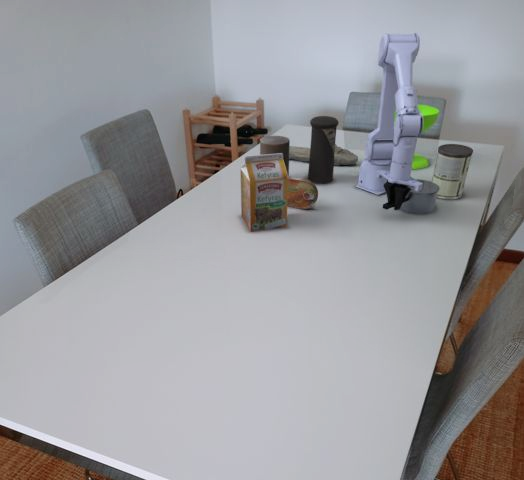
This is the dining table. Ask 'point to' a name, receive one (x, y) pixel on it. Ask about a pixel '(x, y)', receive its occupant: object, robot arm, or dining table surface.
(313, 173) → the container
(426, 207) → the saucepan
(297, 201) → the tin
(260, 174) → the milk carton
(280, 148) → the pillar candle
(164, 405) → the dining table surface
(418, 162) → the wineglass
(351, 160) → the elongated rock
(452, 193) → the coffee can
